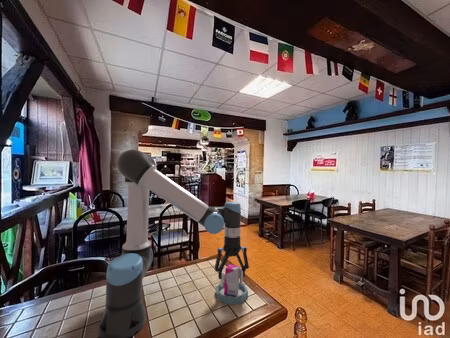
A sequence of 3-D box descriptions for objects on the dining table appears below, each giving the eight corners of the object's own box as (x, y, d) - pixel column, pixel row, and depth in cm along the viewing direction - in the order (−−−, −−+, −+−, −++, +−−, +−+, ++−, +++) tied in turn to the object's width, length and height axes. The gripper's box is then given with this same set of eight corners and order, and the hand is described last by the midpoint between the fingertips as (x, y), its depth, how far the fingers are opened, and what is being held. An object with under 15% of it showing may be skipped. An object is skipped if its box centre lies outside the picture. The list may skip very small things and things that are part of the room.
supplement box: (238, 290, 92) (240, 265, 93) (236, 297, 86) (237, 270, 87) (226, 288, 93) (228, 263, 94) (223, 294, 88) (225, 268, 89)
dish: (219, 306, 82) (219, 300, 82) (214, 287, 95) (214, 282, 95) (250, 302, 84) (250, 296, 84) (241, 284, 98) (241, 279, 98)
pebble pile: (224, 283, 100) (224, 276, 100) (219, 278, 105) (219, 271, 105) (234, 280, 103) (234, 273, 103) (229, 275, 108) (229, 269, 108)
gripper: (210, 239, 85) (209, 291, 84) (256, 236, 89) (256, 287, 88) (208, 234, 92) (207, 282, 92) (251, 232, 96) (250, 278, 96)
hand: (231, 284), depth 90 cm, fingers open, 8 cm apart
